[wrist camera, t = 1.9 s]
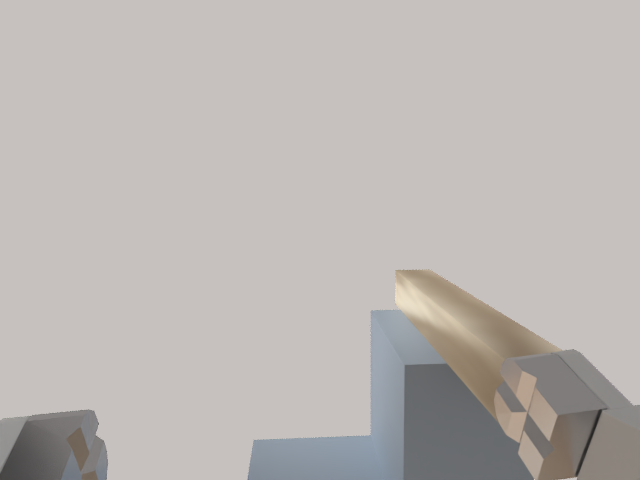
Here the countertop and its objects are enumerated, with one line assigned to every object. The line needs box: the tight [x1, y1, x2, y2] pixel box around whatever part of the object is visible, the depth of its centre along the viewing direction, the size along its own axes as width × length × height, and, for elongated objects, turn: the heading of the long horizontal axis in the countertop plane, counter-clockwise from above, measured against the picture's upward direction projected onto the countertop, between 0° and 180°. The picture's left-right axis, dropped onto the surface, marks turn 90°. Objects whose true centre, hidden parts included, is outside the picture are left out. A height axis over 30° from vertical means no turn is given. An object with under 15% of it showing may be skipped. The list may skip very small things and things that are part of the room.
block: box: [395, 270, 562, 423], centre depth 30 cm, size 3×22×3 cm, turn 3°
